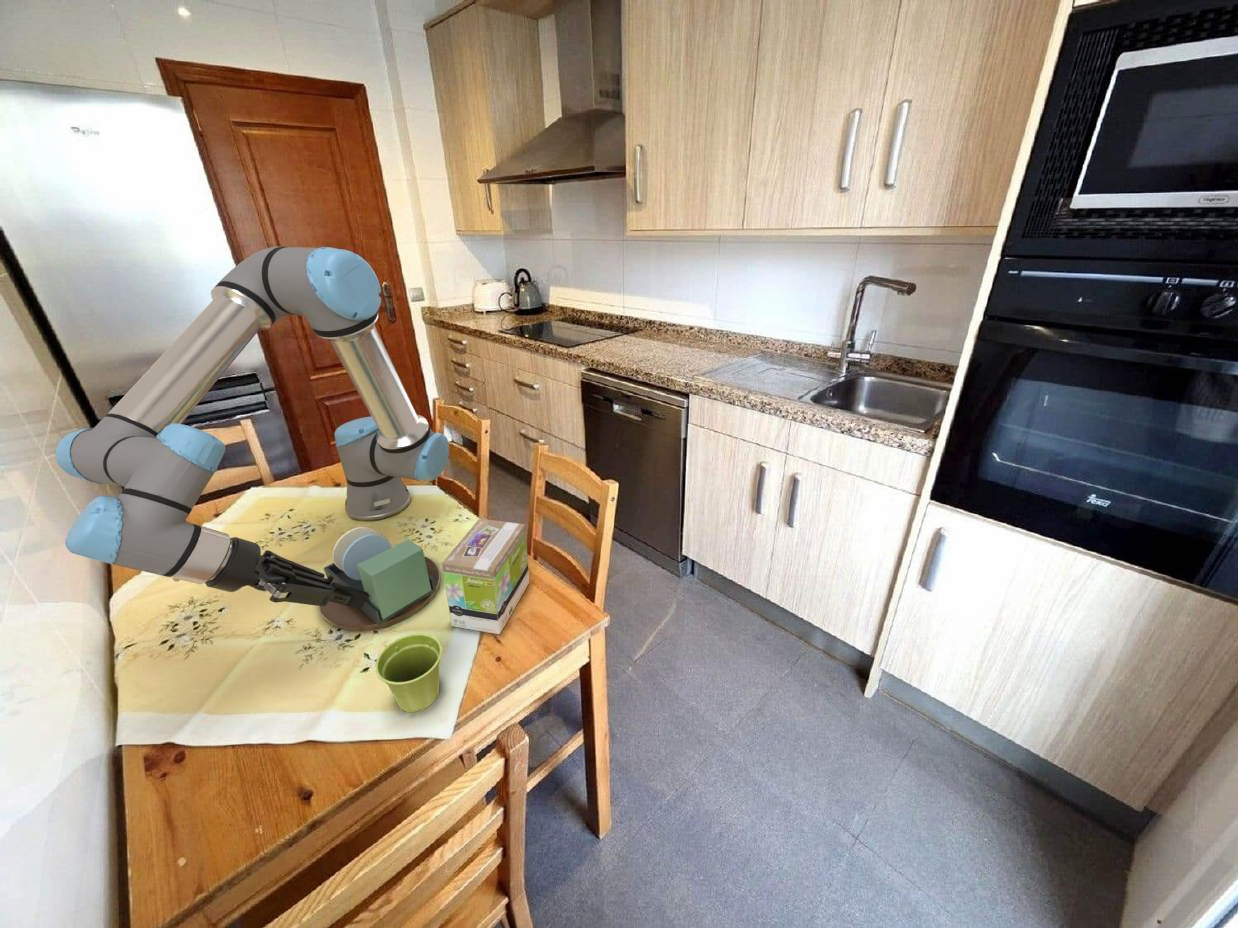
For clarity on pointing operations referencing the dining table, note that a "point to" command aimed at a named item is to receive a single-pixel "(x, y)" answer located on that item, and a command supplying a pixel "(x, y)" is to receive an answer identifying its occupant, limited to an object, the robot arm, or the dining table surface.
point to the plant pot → (411, 670)
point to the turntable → (359, 621)
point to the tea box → (486, 575)
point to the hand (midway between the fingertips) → (363, 600)
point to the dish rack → (381, 572)
